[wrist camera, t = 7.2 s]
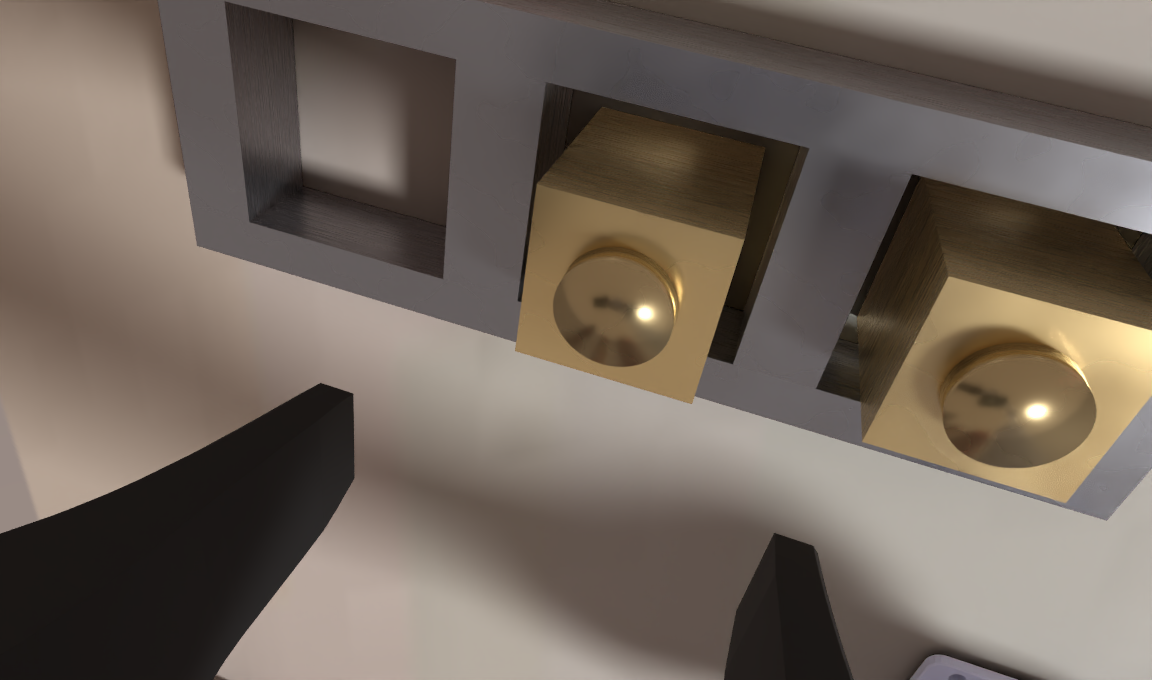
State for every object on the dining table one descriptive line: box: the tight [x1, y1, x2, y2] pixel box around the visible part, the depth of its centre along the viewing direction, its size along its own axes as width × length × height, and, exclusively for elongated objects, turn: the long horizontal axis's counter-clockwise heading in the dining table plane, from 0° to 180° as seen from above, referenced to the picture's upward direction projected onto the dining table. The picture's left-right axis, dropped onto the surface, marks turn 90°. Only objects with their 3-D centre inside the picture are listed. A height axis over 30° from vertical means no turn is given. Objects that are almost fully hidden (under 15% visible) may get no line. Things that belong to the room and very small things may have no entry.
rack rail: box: [158, 0, 1152, 520], centre depth 18 cm, size 24×8×2 cm, turn 81°
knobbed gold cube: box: [515, 107, 765, 404], centre depth 17 cm, size 4×4×6 cm
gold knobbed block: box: [857, 176, 1152, 503], centre depth 16 cm, size 4×4×6 cm
